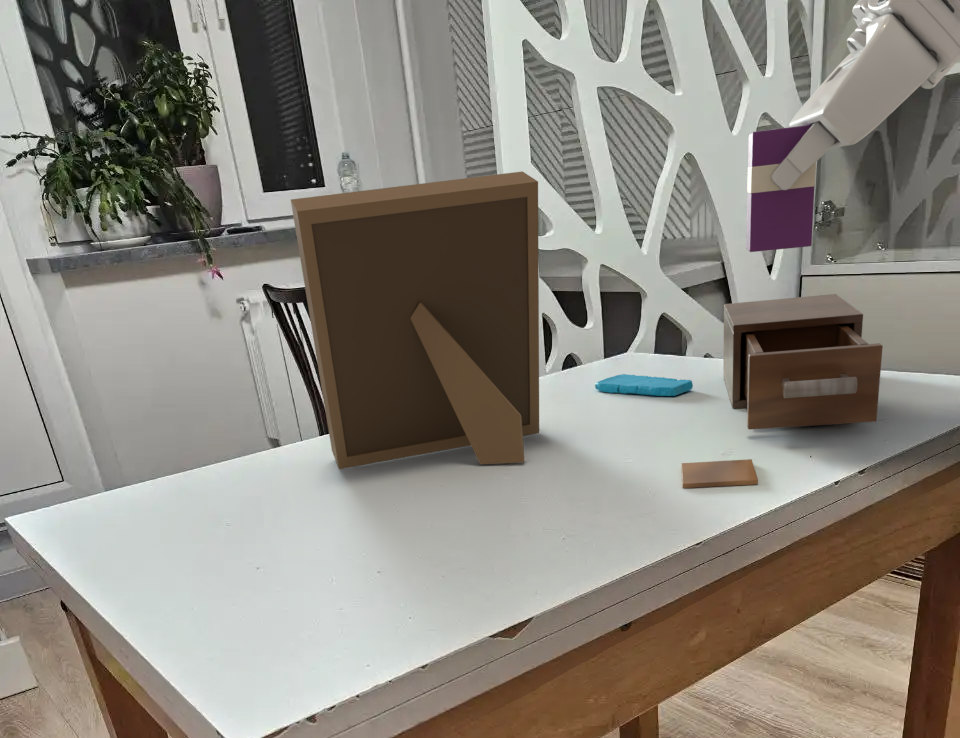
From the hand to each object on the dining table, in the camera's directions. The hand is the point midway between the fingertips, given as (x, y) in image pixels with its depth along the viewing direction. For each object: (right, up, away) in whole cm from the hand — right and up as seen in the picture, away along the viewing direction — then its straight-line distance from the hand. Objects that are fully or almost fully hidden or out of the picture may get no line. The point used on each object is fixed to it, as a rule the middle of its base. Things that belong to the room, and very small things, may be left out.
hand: (772, 184), depth 76 cm
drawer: (+7, -16, +14) cm, 22 cm away
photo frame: (-28, -20, +16) cm, 38 cm away
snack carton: (+1, -4, +2) cm, 5 cm away
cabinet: (+10, -9, +27) cm, 31 cm away
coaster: (-4, -24, +1) cm, 25 cm away
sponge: (-5, -8, +34) cm, 35 cm away
